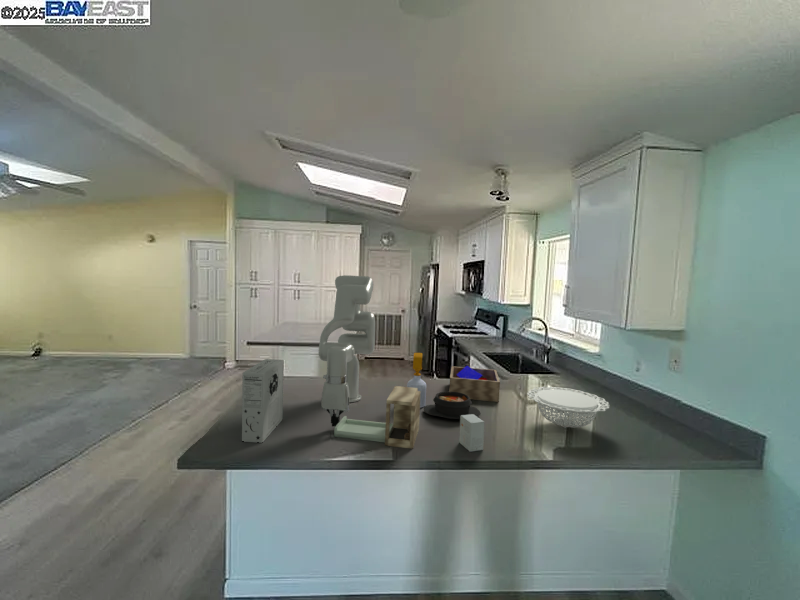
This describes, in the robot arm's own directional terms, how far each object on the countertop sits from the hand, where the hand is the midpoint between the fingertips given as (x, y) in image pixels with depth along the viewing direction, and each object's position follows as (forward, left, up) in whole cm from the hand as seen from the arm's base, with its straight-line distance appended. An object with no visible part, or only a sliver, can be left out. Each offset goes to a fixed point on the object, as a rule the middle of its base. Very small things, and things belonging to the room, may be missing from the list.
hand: (335, 425), depth 152 cm
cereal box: (-26, -7, -2) cm, 27 cm away
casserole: (+44, +29, -2) cm, 53 cm away
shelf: (+26, 0, -2) cm, 26 cm away
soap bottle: (+27, +37, -2) cm, 46 cm away
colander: (+91, +27, -2) cm, 95 cm away
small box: (+52, -1, -2) cm, 52 cm away
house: (+54, +65, -2) cm, 84 cm away
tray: (+12, 0, -2) cm, 12 cm away
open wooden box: (+54, +65, -2) cm, 84 cm away
